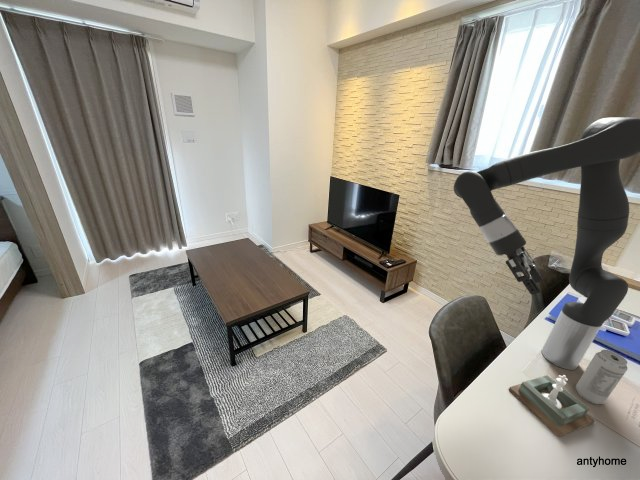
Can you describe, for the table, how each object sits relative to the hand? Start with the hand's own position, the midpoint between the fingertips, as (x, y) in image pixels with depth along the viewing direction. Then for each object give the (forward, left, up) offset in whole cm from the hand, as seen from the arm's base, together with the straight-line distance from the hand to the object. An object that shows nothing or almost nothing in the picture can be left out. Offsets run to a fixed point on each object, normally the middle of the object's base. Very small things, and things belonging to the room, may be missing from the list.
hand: (537, 287), depth 68 cm
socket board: (-3, +12, -31) cm, 33 cm away
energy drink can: (-18, +13, -31) cm, 38 cm away
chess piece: (-3, +12, -30) cm, 32 cm away
